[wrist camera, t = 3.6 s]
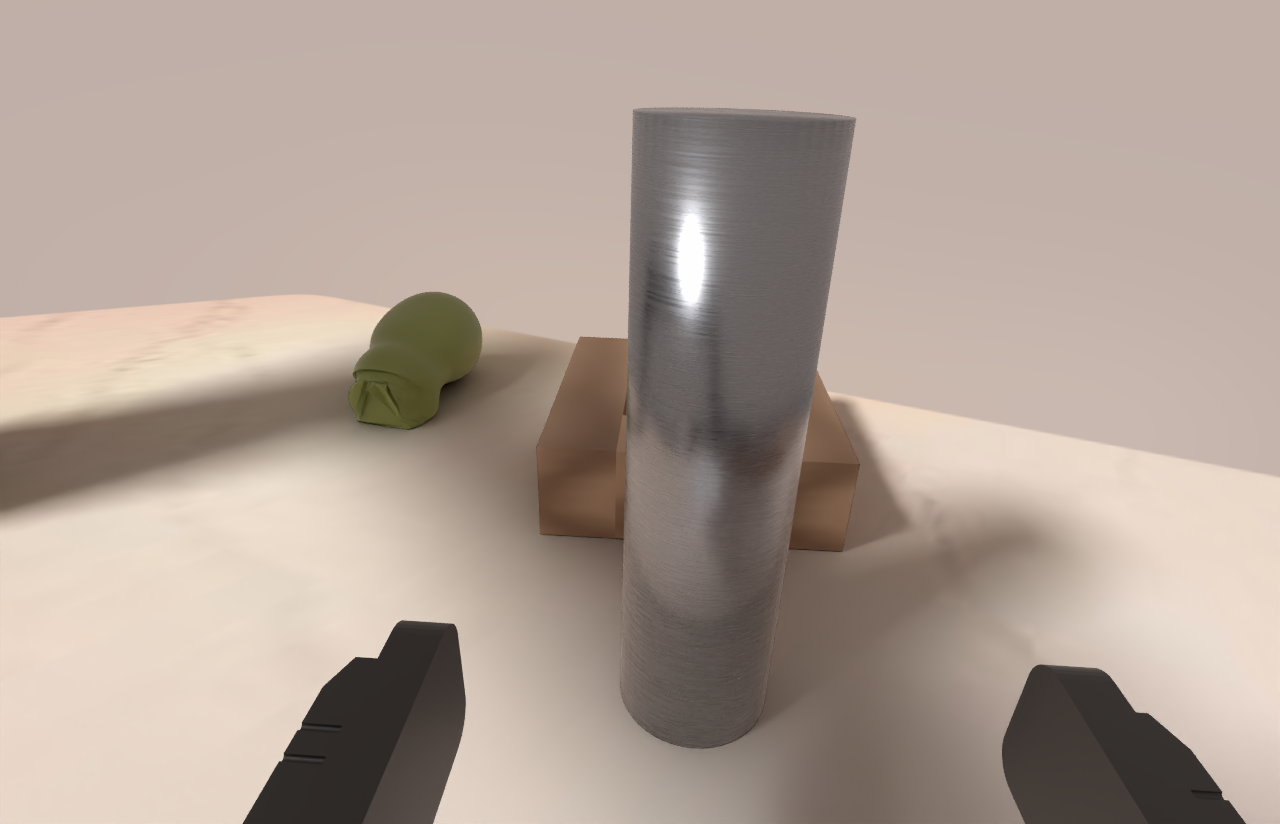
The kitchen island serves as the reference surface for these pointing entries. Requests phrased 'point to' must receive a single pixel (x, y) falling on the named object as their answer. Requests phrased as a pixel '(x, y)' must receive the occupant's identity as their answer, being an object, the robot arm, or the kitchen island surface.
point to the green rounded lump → (414, 360)
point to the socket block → (596, 447)
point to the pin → (719, 399)
